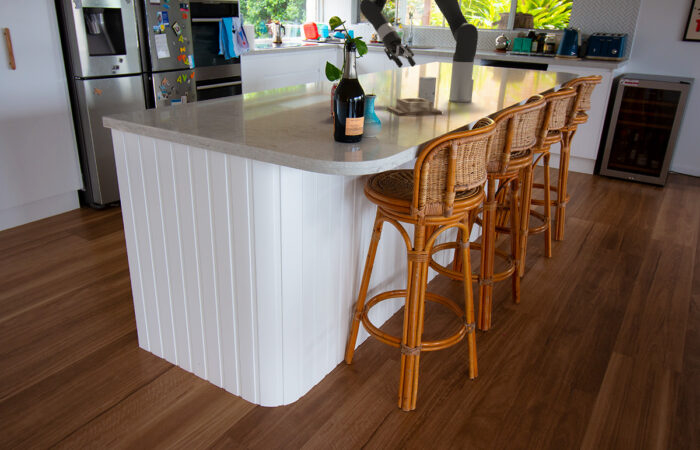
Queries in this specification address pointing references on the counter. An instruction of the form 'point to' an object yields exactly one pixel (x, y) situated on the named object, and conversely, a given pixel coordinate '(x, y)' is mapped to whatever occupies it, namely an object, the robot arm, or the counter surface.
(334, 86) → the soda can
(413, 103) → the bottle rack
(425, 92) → the skincare box
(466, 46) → the robot arm
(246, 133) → the counter surface
